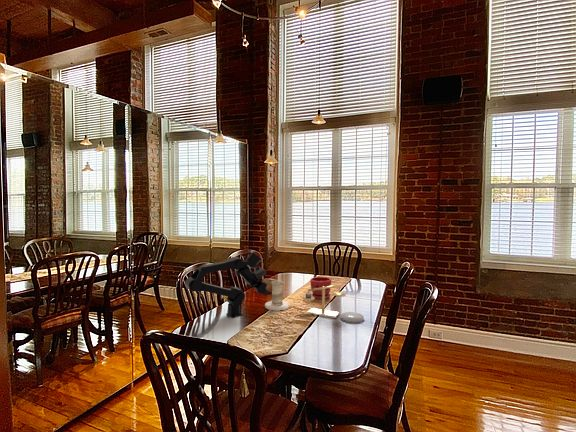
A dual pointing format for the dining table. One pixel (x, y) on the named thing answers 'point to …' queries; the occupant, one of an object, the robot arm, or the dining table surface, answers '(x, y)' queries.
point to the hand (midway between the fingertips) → (264, 292)
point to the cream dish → (277, 308)
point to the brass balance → (323, 302)
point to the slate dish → (352, 317)
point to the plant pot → (318, 283)
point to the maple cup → (277, 293)
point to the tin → (269, 284)
